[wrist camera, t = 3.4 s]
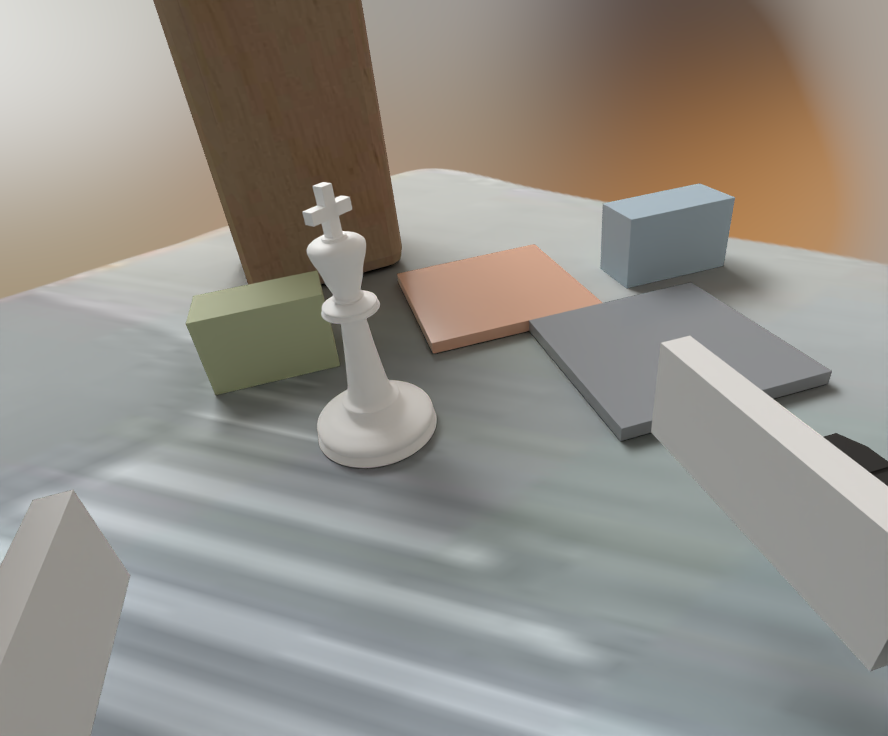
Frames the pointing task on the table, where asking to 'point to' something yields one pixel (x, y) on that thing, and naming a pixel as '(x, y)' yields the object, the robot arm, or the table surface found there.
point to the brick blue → (665, 234)
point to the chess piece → (360, 355)
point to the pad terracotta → (489, 296)
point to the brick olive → (262, 332)
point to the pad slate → (638, 348)
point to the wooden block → (285, 123)
